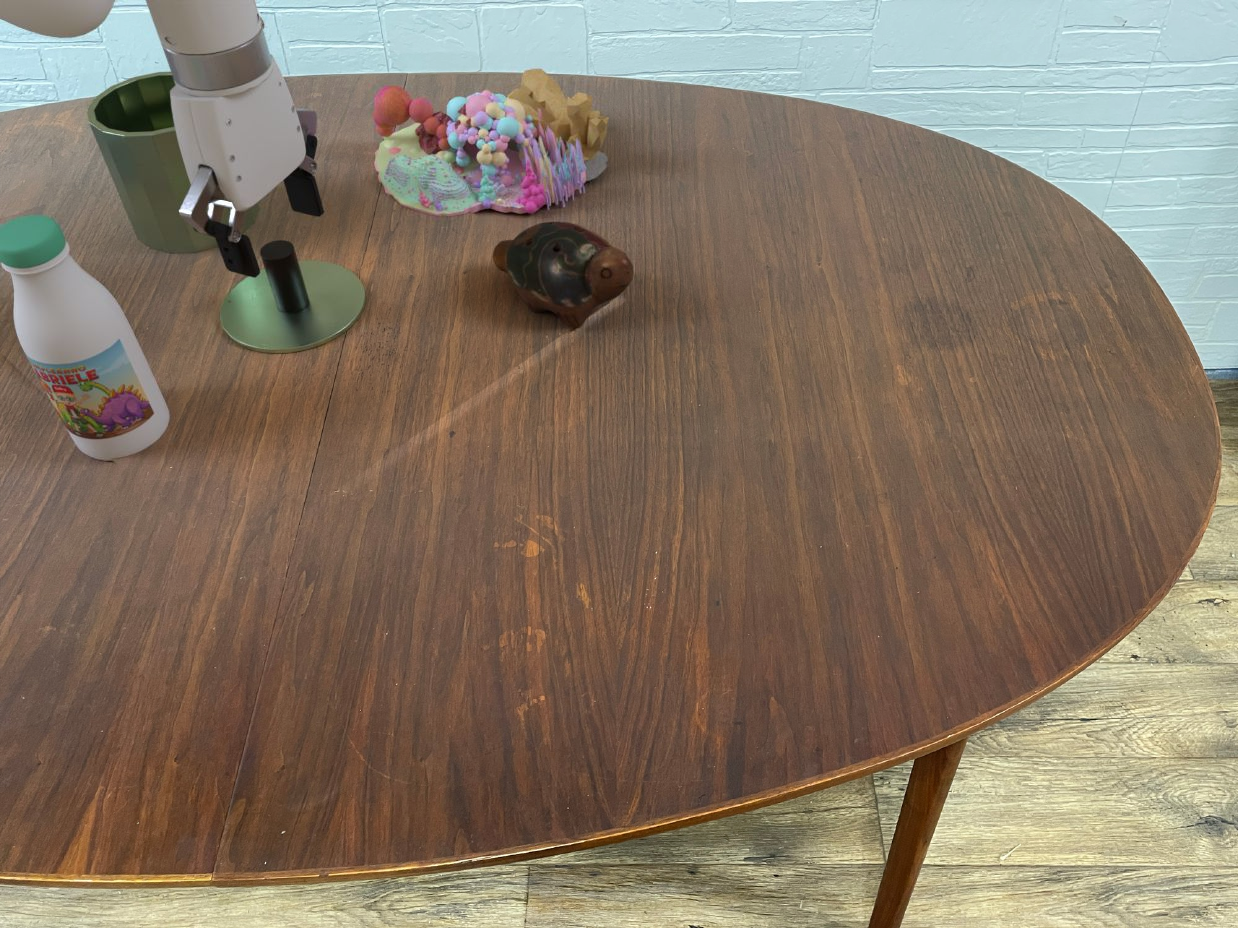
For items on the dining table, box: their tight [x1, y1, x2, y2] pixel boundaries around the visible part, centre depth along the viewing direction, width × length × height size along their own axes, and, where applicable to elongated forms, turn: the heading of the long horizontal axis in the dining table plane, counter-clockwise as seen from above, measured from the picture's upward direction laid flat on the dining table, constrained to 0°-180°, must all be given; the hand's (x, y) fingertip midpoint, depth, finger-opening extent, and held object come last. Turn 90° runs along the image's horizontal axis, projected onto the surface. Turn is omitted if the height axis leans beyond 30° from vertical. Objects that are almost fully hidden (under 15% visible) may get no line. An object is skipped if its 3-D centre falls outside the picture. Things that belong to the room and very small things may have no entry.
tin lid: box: [219, 239, 367, 354], centre depth 96 cm, size 13×13×7 cm
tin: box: [86, 71, 260, 254], centre depth 104 cm, size 12×12×14 cm
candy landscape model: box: [372, 68, 609, 218], centre depth 112 cm, size 25×24×9 cm
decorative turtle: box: [492, 221, 634, 330], centre depth 96 cm, size 10×15×8 cm, turn 63°
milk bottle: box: [0, 214, 171, 462], centre depth 81 cm, size 8×8×20 cm
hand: (277, 241), depth 93 cm, fingers open, 9 cm apart
